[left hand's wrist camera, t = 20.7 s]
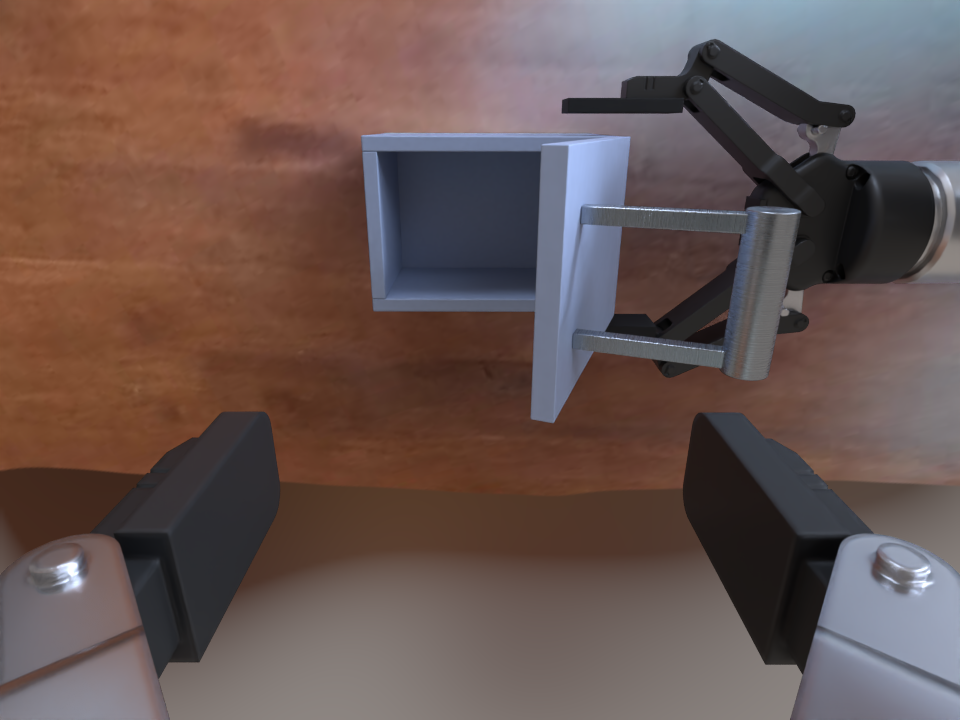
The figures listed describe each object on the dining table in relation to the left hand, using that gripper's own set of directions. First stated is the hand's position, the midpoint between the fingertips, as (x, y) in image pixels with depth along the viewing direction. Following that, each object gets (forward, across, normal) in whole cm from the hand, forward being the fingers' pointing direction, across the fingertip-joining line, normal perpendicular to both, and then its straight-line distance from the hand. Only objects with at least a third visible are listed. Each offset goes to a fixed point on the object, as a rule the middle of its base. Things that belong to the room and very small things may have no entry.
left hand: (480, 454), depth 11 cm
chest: (+35, 0, 0) cm, 35 cm away
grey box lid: (+18, -5, 0) cm, 19 cm away
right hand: (+28, -5, 0) cm, 28 cm away
